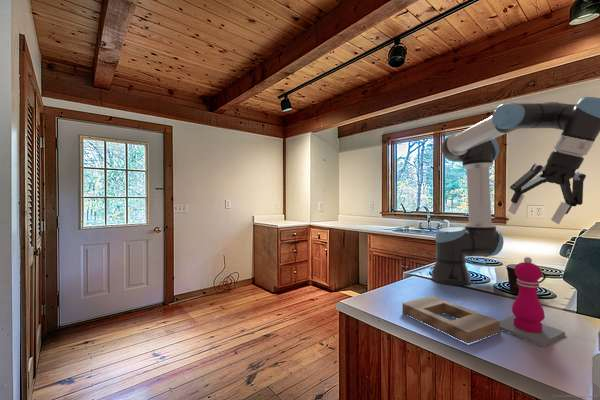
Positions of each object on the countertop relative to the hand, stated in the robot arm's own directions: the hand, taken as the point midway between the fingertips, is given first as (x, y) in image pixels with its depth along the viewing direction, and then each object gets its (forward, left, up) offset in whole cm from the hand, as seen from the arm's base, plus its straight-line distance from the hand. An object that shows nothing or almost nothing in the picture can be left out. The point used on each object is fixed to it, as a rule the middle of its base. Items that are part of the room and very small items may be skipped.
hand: (533, 217), depth 91 cm
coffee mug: (-10, +18, -31) cm, 37 cm away
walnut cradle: (-8, -30, -31) cm, 44 cm away
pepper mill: (+6, -15, -30) cm, 34 cm away
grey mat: (+6, -15, -31) cm, 35 cm away
